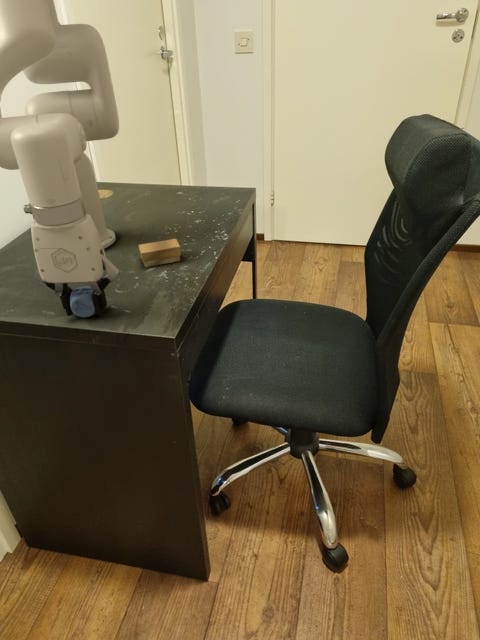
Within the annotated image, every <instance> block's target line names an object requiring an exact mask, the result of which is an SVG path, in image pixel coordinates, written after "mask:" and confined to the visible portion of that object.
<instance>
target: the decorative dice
mask: <svg viewBox="0 0 480 640" xmlns="http://www.w3.org/2000/svg"><path fill="white" fill-rule="evenodd" d="M72 290H73V291H72V292H71V294H70V306H71V310H72V312H73V315H75V316H77V317H79V318H89V317H92V316H95V315H97V314H96V311H95V307H94V303H93V299H92V295H93V294H94V292H93V290H92V288H91V286H90V285H89V286H88V285H84V286H83V285H82V286H79V287H76V288H73V289H72Z"/></svg>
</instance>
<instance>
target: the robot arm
mask: <svg viewBox="0 0 480 640" xmlns="http://www.w3.org/2000/svg"><path fill="white" fill-rule="evenodd" d="M21 72H23V74H24V76H25V78H26V79H27V80H28V81H29V82H31V83H33V84H36V85H59V84H68V83H69V84H71V83H86V84H87V85H88V86H89V88H86V89H74V90H73V89H72V90H62V91H60V90H59V91H49V92H47V91H46V92H42V93H39V94H35V95H33V96H32V97H31V98H29V99H28V100H27V101H26V104H25V105H24V115H18V116H7V117H3V115H2V109H1V108H0V168H1V169H5V170H9V171H17V170H19V172H20V176H21V179H22V183H23V186H24V190H25V193H26V195H27V199H28V201H29V203H28V204H24V205H23V211H24V212H23V213H25V214H29V215H32V219H33V221H31V223H30V230H31V231H30V233H31V241H32V248H33V253H34V257H35V262H36V266H37V267H36V270H35V272H34V273H33V278H34V279H35V280H36V281H38V282H40V283H42V284H45V286H46V287H48V289H51V290H52V291H54V292H55V293H54V294H55V295H56V296H58V297H59V299H60V302H61V306H62V308H63V309H64V310H65V313H66V316H67V317H71V316H73V315H74V313H73V312H72V310H71V306H70V294H71V292H72V291H73V290H74V289H73V288H72V287H71V286H69V284H85V283H86V284H87V283H88V285H89V286H90V287H91V288H92V290H93V292H94V294H93V295H92V299H93V303H94V307H95V311H96V314H95V315H97V316H102V314H103V313H104V310H105V309H107V306H108V301H107V297H106V293H105V290H106V288H107V287H108V286H109V284H110V283H112V282H113V281H114V280H116V279H117V278H119V275H120V273H121V270H120V269H118V267H116V265H114V263H113V262H111V260H109V259H108V258H107V256H106V251H105V249H107V248H109V247H110V246H111V245H113V244H114V243H115V241H116V239H117V237H116V233H115V231H113V230H111V229H110V228H108V227H107V224H106V220H105V215H104V210H103V206H102V202H101V196H100V193H99V188H98V183H97V179H96V174H95V168H94V166H93V163H92V161H91V159H90V158H89V156H88V155H87V154H86V153H85V151H86V149H87V142H93V141H103V140H109V139H112V138H113V139H114V138H115V137H116V136H117V135H118V134H119V130H120V118H119V117H120V116H119V112H118V106H117V102H116V95H115V91H114V90H115V89H114V85H113V80H112V76H111V75H112V74H111V70H110V63H109V60H108V54H107V51H106V46H105V44H104V40H103V37H102V36H101V34H100V32H99V30H97V28H96V27H94V26H93V25H91V24H88V23H87V24H86V23H69V24H61V22H60V21H59V18H58V14H57V9H56V6H55V0H0V101H1V99H2V95H3V92H4V90H5V88H6V87H7V85H8V84H9V83H10V82H11V81H12V80H13V79H14V78H15V77H16V76H17V75H19V74H20V73H21ZM104 271H105V272H106V273H107V274H105V275H104V276H103V274H104Z"/></svg>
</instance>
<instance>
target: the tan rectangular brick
mask: <svg viewBox="0 0 480 640" xmlns="http://www.w3.org/2000/svg"><path fill="white" fill-rule="evenodd" d="M138 250H139V254H140V257H141V262H142V263H143V266H144V268H148V267H155V266H161V265H165V264H173V263H176V262H181V256H182V250H181V246H180V244H179V241H178V239H177V238H170V239H166V240H161V241H160V240H159V241H153V242H147V243H141V244H138Z"/></svg>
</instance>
